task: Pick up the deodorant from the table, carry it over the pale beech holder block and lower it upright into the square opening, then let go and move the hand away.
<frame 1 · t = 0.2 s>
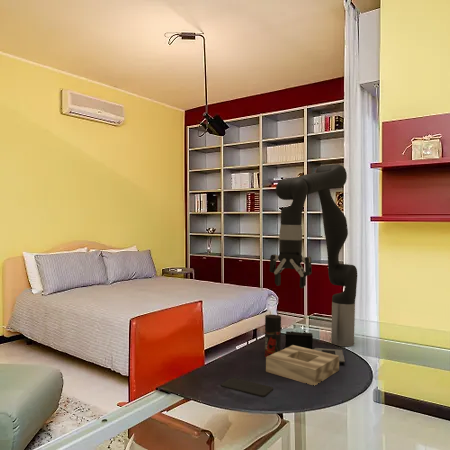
hand: (289, 286, 139), 29 cm above the table, tool pointing down, fingers open, 8 cm apart
digital camera: (298, 351, 163), on the table
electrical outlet: (328, 360, 154), on the table
holder: (302, 371, 141), on the table
phone: (246, 389, 126), on the table
deodorant: (272, 356, 156), on the table
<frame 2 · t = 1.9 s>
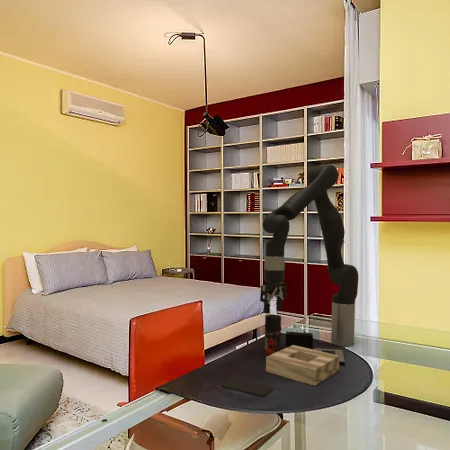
hand: (273, 311, 155), 17 cm above the table, tool pointing down, fingers open, 8 cm apart
nothing on the table moved.
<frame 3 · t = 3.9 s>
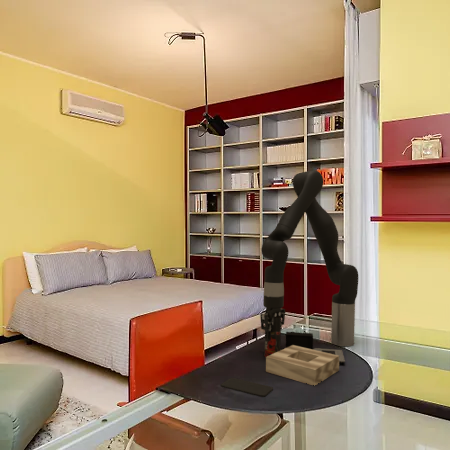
hand: (272, 338, 155), 7 cm above the table, tool pointing down, fingers closed on deodorant, 6 cm apart
deodorant: (272, 356, 155), on the table, touching gripper
everything else where it was.
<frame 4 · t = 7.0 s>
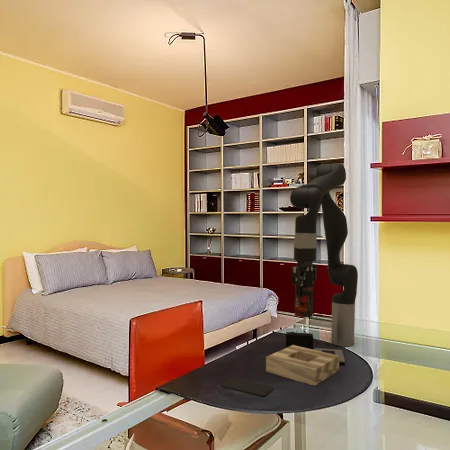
hand: (304, 295, 141), 25 cm above the table, tool pointing down, fingers closed on deodorant, 6 cm apart
deodorant: (303, 315, 141), point 19 cm above the table, touching gripper
everything else where it was.
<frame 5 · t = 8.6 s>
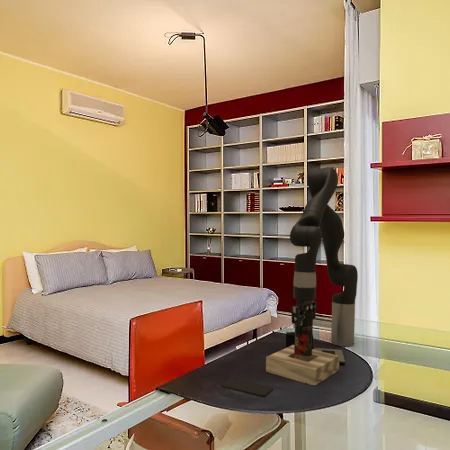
hand: (303, 334, 141), 13 cm above the table, tool pointing down, fingers closed on deodorant, 6 cm apart
deodorant: (303, 354, 141), point 6 cm above the table, touching gripper
everything else where it was.
when the fingers open (8 cm above the table, at t = 10.1 s): deodorant drops 1 cm, resting in holder.
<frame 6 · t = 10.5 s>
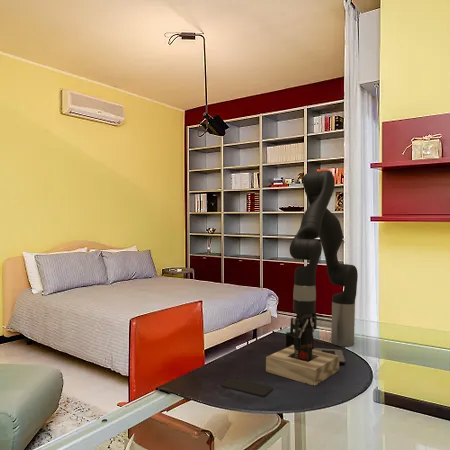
hand: (303, 345, 141), 9 cm above the table, tool pointing down, fingers open, 8 cm apart
deodorant: (302, 371, 141), resting in holder
everything else where it was.
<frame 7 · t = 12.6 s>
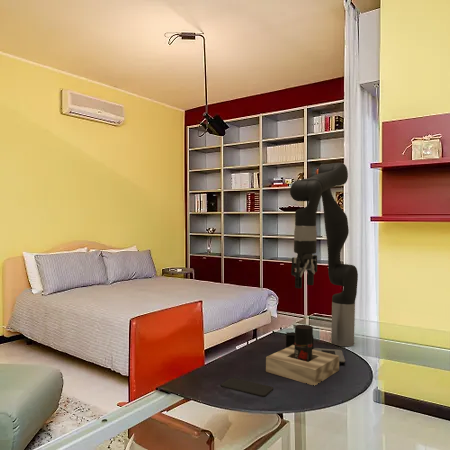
hand: (304, 286, 142), 28 cm above the table, tool pointing down, fingers open, 8 cm apart
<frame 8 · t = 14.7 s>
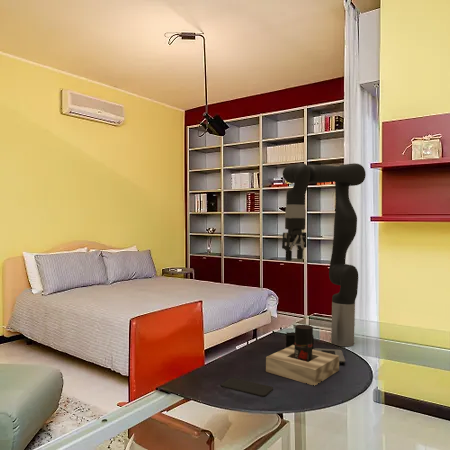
hand: (294, 260, 157), 36 cm above the table, tool pointing down, fingers open, 8 cm apart
at the end: deodorant 0.2 cm off-centre on the holder, point 0.0 cm above the holder's base; deodorant tilted 0°; the gripper is holding nothing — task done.
